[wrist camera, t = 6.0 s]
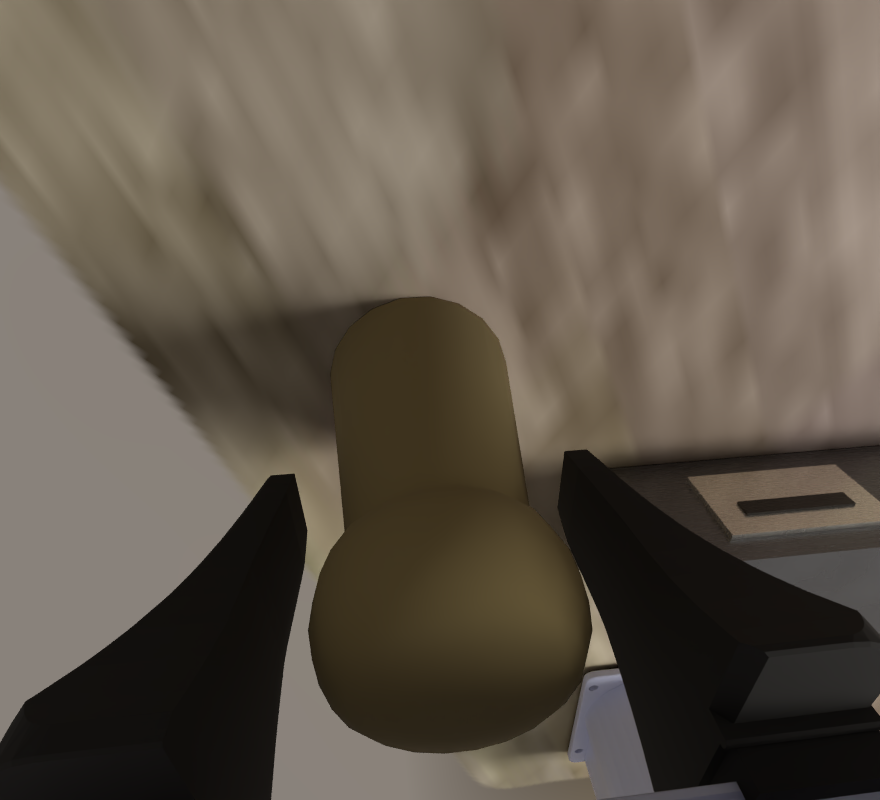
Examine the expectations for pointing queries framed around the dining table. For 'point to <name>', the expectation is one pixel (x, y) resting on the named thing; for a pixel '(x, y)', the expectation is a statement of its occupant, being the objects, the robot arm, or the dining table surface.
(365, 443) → the cork
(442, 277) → the dining table surface
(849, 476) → the dark gray slotted box
